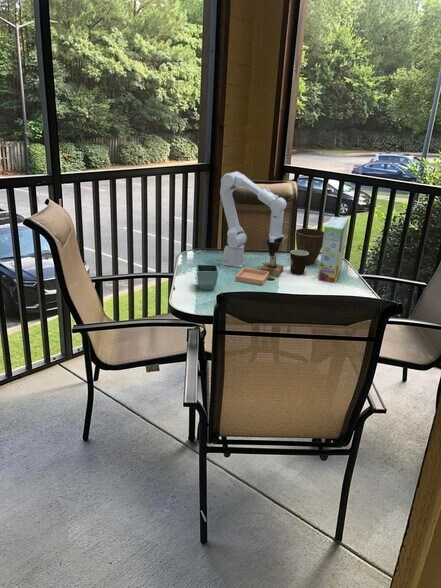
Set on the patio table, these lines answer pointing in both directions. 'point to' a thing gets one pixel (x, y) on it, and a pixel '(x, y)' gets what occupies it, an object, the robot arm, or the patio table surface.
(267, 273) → the dish
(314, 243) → the plant pot
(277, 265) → the block
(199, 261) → the patio table surface
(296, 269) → the coffee mug
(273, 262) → the pin
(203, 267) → the flower pot
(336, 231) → the snack box
